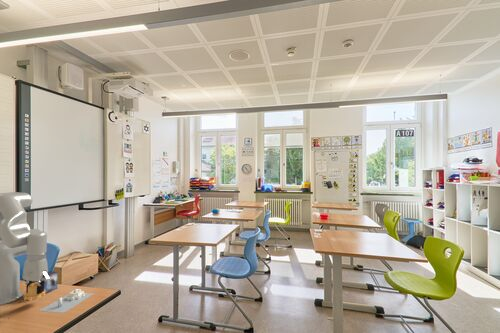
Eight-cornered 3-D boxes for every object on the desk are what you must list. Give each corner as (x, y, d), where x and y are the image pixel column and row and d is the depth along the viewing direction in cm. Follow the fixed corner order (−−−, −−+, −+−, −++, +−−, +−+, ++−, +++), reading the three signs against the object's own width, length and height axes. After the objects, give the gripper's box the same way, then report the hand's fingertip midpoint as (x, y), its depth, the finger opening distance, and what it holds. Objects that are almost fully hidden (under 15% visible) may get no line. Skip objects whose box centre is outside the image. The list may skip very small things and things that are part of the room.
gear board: (38, 313, 115) (38, 302, 115) (72, 294, 132) (72, 284, 132) (63, 315, 112) (63, 304, 113) (94, 295, 130) (94, 286, 130)
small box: (38, 299, 128) (39, 279, 128) (29, 298, 129) (29, 278, 130) (58, 289, 138) (58, 271, 139) (49, 288, 140) (49, 270, 140)
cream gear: (63, 300, 124) (63, 294, 124) (75, 293, 131) (75, 287, 131) (75, 301, 123) (75, 295, 123) (87, 293, 130) (87, 288, 130)
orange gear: (19, 299, 117) (20, 287, 117) (36, 291, 125) (37, 280, 125) (33, 301, 116) (33, 289, 116) (49, 293, 123) (49, 281, 123)
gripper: (14, 257, 118) (12, 294, 118) (43, 261, 115) (41, 298, 115) (30, 252, 125) (28, 286, 125) (58, 255, 123) (56, 290, 123)
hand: (35, 291), depth 120 cm, fingers closed on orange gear, 5 cm apart
